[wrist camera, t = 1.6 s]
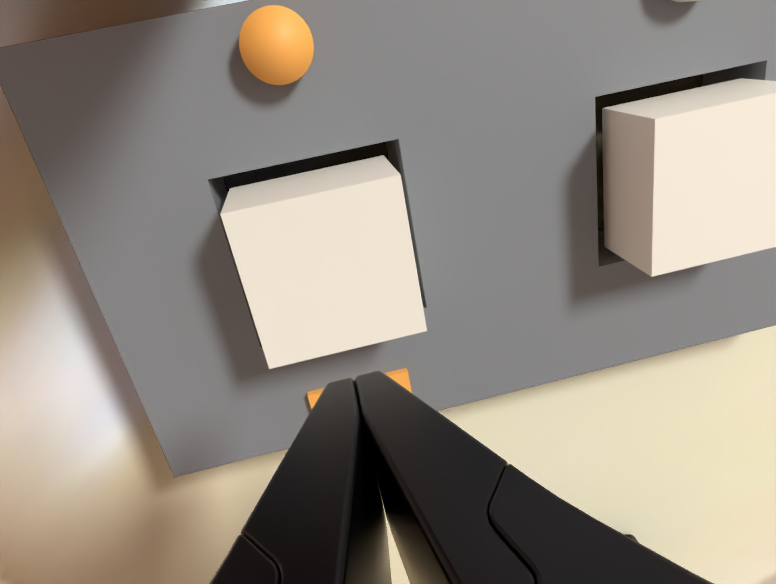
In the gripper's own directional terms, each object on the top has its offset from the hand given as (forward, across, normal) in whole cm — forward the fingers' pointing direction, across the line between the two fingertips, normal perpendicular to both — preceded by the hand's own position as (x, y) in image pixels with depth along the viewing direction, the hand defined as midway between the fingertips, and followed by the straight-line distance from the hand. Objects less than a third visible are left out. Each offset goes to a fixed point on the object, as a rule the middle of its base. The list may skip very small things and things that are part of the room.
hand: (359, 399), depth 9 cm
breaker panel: (+9, -5, 0) cm, 11 cm away
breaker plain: (+7, -10, 0) cm, 12 cm away
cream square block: (+7, 0, 0) cm, 7 cm away
